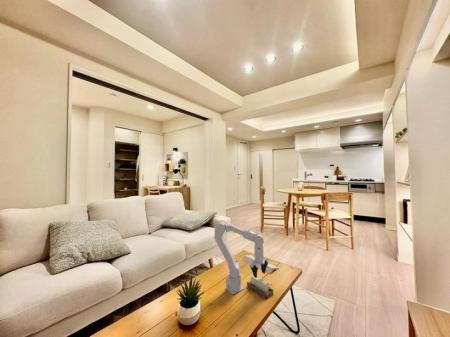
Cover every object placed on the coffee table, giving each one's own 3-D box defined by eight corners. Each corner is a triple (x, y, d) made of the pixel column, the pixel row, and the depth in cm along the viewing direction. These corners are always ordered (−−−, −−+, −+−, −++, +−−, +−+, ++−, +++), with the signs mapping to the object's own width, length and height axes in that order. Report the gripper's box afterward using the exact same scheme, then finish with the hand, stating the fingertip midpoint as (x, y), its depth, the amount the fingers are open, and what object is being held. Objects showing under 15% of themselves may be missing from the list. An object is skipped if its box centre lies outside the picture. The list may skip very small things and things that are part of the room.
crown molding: (278, 269, 146) (278, 264, 147) (269, 274, 139) (268, 269, 139) (251, 256, 169) (251, 252, 169) (241, 261, 161) (241, 256, 161)
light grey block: (265, 294, 115) (264, 284, 115) (251, 285, 124) (250, 276, 124) (268, 292, 117) (268, 282, 117) (254, 283, 126) (254, 274, 126)
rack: (265, 298, 112) (265, 294, 112) (247, 286, 125) (246, 282, 125) (273, 294, 116) (273, 289, 116) (254, 282, 129) (254, 278, 129)
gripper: (255, 259, 113) (256, 281, 113) (271, 252, 122) (271, 273, 122) (247, 255, 119) (247, 276, 119) (262, 249, 128) (263, 269, 127)
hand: (259, 275), depth 121 cm, fingers open, 7 cm apart
